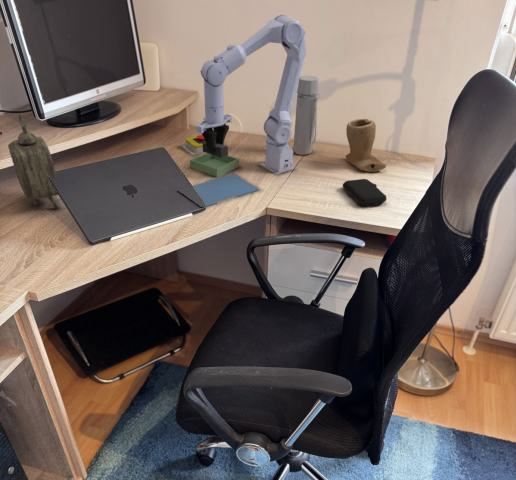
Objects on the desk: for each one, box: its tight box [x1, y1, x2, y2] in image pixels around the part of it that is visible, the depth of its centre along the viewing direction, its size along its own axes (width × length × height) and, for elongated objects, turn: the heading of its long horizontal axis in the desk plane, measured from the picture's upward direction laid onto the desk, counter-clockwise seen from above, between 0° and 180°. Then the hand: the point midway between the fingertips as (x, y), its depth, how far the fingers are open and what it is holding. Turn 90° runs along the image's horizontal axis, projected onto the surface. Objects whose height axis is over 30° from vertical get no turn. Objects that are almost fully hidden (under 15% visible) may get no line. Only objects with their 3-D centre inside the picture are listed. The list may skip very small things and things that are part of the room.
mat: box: [192, 173, 260, 209], centre depth 158 cm, size 14×22×1 cm, turn 128°
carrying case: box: [342, 178, 387, 207], centre depth 157 cm, size 11×3×15 cm
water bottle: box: [292, 75, 321, 156], centre depth 176 cm, size 9×8×25 cm
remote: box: [203, 142, 229, 158], centre depth 161 cm, size 8×3×3 cm, turn 52°
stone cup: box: [344, 118, 387, 173], centre depth 172 cm, size 15×12×15 cm
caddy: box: [189, 153, 240, 178], centre depth 171 cm, size 12×12×3 cm
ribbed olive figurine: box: [7, 113, 60, 210], centre depth 140 cm, size 14×9×25 cm, turn 30°
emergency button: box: [181, 134, 226, 156], centre depth 183 cm, size 9×4×15 cm
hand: (215, 150), depth 162 cm, fingers closed on remote, 3 cm apart
